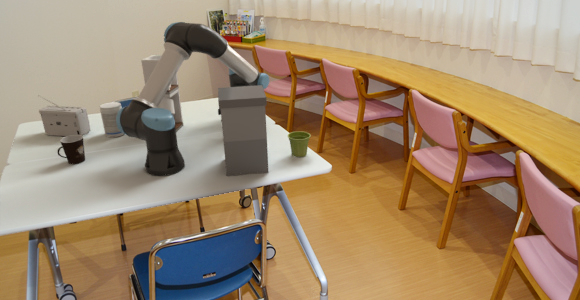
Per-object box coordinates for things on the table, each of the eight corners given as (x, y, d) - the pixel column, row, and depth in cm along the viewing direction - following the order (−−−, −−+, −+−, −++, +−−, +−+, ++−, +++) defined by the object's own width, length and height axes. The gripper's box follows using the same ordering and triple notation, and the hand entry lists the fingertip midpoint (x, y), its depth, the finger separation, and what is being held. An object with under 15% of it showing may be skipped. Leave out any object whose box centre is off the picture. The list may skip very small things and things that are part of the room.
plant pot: (297, 148, 194) (297, 129, 190) (315, 153, 188) (315, 134, 185) (283, 155, 187) (282, 136, 184) (301, 161, 182) (301, 141, 178)
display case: (152, 132, 216) (141, 59, 202) (161, 125, 226) (151, 55, 212) (175, 133, 214) (165, 60, 201) (183, 125, 224) (174, 55, 210)
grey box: (225, 176, 170) (218, 100, 158) (224, 158, 186) (218, 87, 174) (269, 172, 172) (266, 97, 161) (265, 155, 188) (262, 85, 176)
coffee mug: (83, 155, 193) (78, 133, 189) (91, 160, 187) (86, 138, 183) (54, 163, 186) (49, 141, 182) (62, 169, 180) (56, 146, 176)
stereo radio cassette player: (92, 132, 219) (83, 92, 211) (81, 138, 211) (72, 97, 203) (55, 130, 223) (45, 91, 215) (43, 136, 216) (32, 95, 208)
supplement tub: (130, 134, 215) (124, 104, 209) (110, 139, 209) (104, 109, 203) (120, 129, 222) (115, 100, 216) (102, 134, 216) (96, 105, 210)
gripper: (264, 107, 222) (269, 121, 203) (213, 111, 219) (213, 126, 200) (264, 92, 219) (268, 105, 200) (212, 96, 216) (212, 109, 197)
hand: (241, 116), depth 200 cm, fingers open, 13 cm apart
